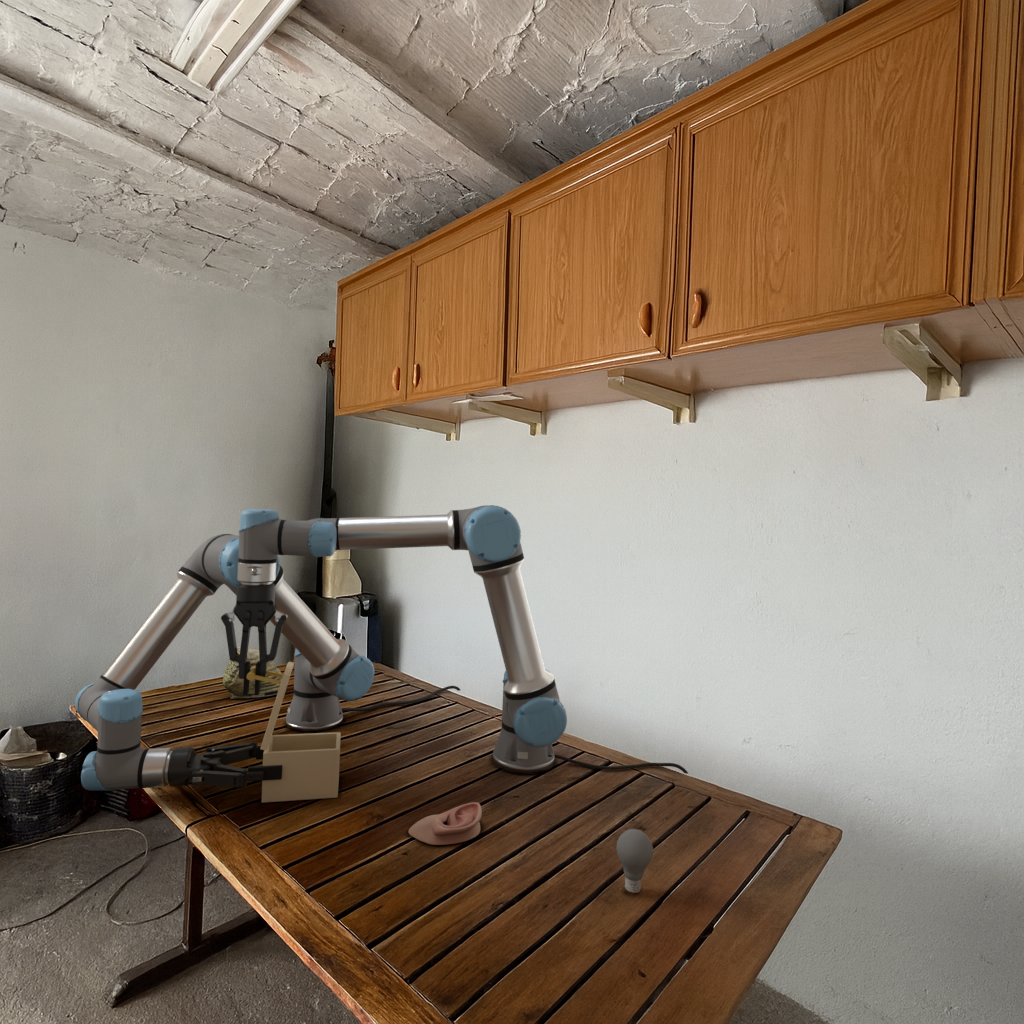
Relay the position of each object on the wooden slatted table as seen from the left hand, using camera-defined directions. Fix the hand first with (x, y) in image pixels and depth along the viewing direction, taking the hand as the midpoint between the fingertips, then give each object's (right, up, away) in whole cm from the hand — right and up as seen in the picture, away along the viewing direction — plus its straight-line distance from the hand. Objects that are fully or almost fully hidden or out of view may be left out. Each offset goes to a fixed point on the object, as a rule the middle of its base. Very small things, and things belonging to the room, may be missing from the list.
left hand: (284, 761), depth 136 cm
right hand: (-6, +15, -2) cm, 17 cm away
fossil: (-32, -4, +62) cm, 70 cm away
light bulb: (+69, -10, -30) cm, 76 cm away
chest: (+3, -6, +1) cm, 7 cm away
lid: (-1, +12, -1) cm, 12 cm away
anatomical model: (+36, -8, -14) cm, 39 cm away
